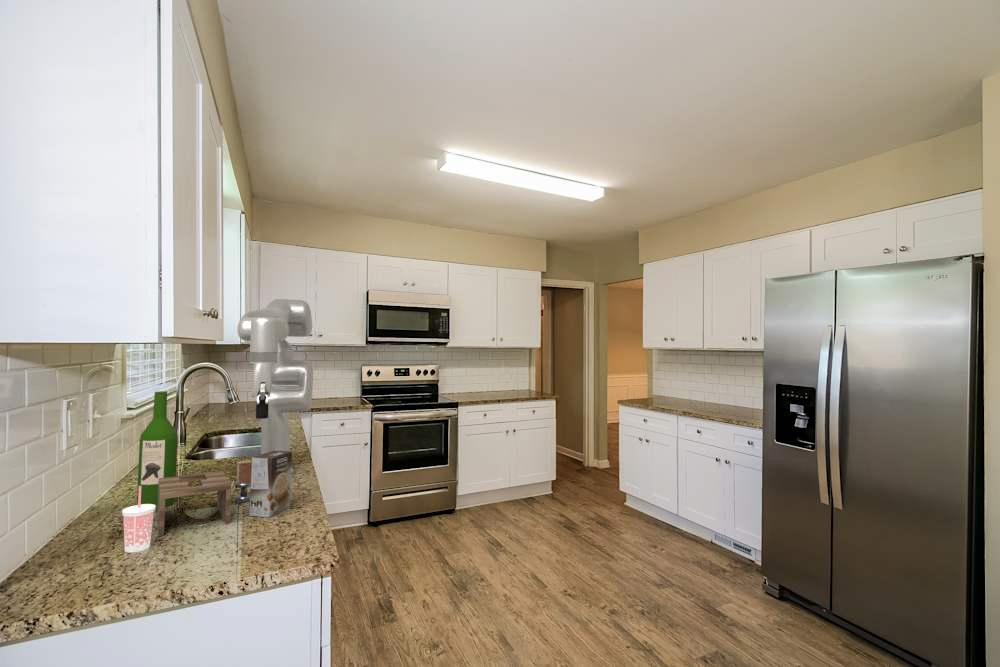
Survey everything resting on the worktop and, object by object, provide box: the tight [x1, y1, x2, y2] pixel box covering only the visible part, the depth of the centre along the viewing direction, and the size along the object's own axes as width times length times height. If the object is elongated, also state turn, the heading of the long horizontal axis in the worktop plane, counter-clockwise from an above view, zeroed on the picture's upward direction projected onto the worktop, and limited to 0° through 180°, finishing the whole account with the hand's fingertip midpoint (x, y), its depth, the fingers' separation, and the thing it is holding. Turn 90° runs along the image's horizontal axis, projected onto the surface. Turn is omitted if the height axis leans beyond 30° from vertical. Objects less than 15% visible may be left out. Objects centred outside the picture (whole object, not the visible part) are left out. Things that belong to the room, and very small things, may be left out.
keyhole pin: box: [234, 459, 252, 504], centre depth 142 cm, size 5×5×12 cm
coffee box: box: [248, 450, 293, 519], centre depth 133 cm, size 9×6×16 cm
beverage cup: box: [121, 486, 156, 553], centre depth 107 cm, size 6×6×14 cm
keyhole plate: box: [156, 470, 232, 537], centre depth 125 cm, size 17×15×10 cm
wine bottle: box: [136, 391, 179, 511], centre depth 137 cm, size 9×9×32 cm
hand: (262, 415), depth 141 cm, fingers open, 9 cm apart
